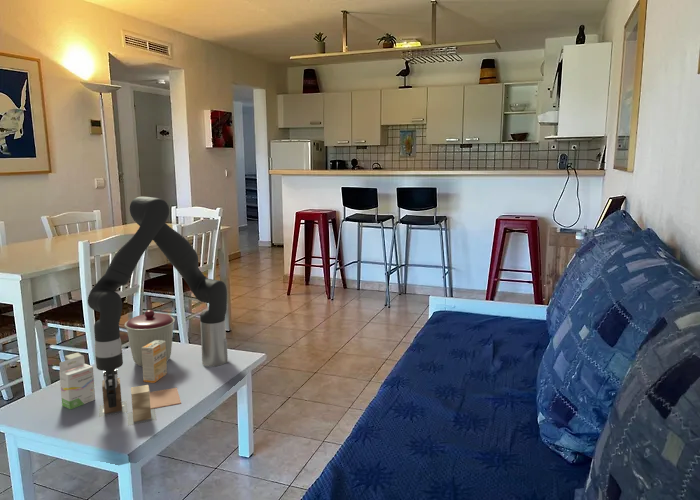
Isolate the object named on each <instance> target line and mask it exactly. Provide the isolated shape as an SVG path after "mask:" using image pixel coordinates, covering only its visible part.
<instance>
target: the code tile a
mask: <svg viewBox="0 0 700 500" xmlns="http://www.w3.org/2000/svg"><path fill="white" fill-rule="evenodd" d="M127 401H128V400H124V401H122V411H118V412H112V413H107V414H104V404H101V405H99V407H98V408H99V409H98V410H99V411H98V418H102V417H107V416H113V415H118V414H125V413H128V402H127Z"/></svg>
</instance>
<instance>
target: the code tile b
mask: <svg viewBox="0 0 700 500" xmlns="http://www.w3.org/2000/svg"><path fill="white" fill-rule="evenodd" d="M126 413H127V426H134V425H139V424H144V423H149V422H154V421H157V420H158V419H157V414H156V408H154V409H151V419H148V420H142V421H137V422H133V411H132V412H126Z"/></svg>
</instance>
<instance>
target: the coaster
mask: <svg viewBox="0 0 700 500" xmlns="http://www.w3.org/2000/svg"><path fill="white" fill-rule="evenodd" d="M149 393H150V409H154V408H155V409H158V408H160V409H161V408H165V407H169V406H176V405H180V404H182V401H181V398H180V397H181V396H180V395H179V391H178V388H177V387H172V388H166V389H160V390H155V391H149Z"/></svg>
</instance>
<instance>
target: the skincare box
mask: <svg viewBox="0 0 700 500" xmlns="http://www.w3.org/2000/svg"><path fill="white" fill-rule="evenodd" d="M82 355H83V354H81V353H80V352H74V353H71V354H66V355H64V359H65V360H64V361H66V360H69V359H72V358H75V357H79V356H82ZM73 363H76V361H71V362H70V363H68V365H70V364H73ZM84 364H86V363H85V359H84Z"/></svg>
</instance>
